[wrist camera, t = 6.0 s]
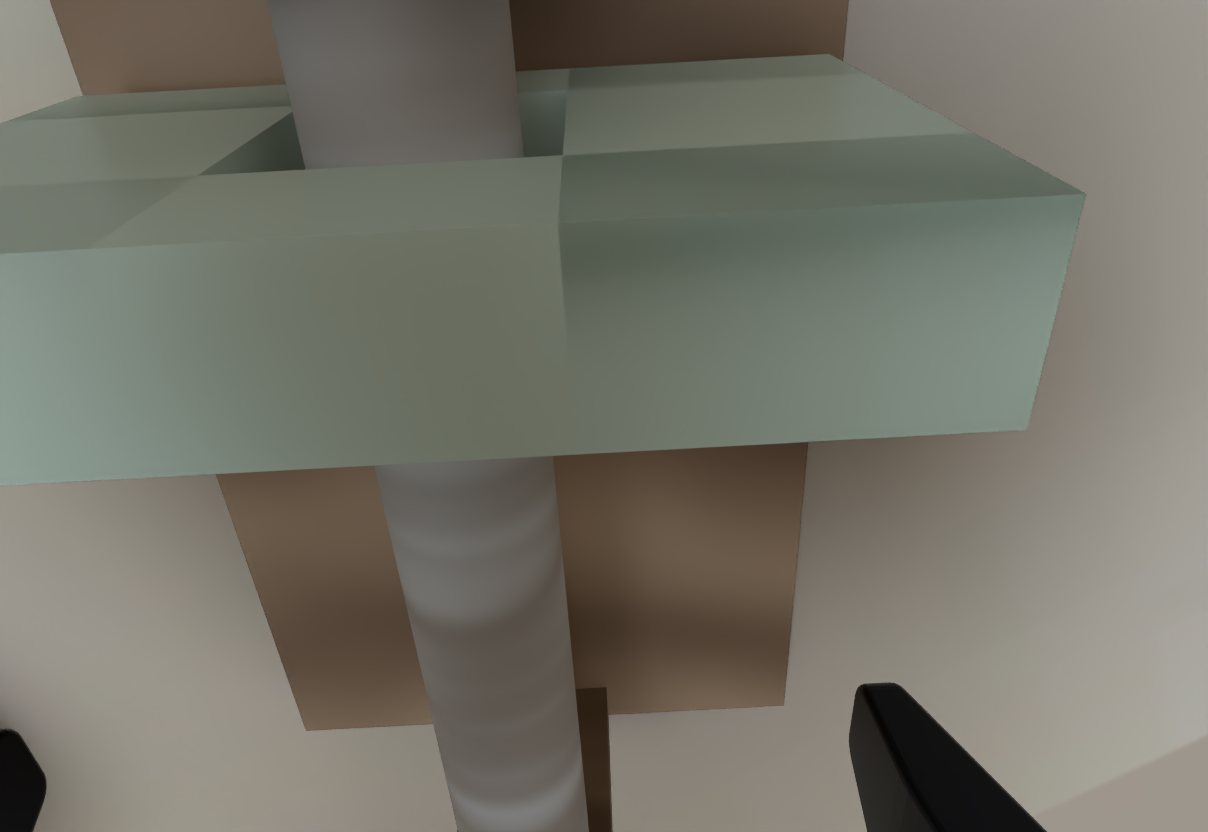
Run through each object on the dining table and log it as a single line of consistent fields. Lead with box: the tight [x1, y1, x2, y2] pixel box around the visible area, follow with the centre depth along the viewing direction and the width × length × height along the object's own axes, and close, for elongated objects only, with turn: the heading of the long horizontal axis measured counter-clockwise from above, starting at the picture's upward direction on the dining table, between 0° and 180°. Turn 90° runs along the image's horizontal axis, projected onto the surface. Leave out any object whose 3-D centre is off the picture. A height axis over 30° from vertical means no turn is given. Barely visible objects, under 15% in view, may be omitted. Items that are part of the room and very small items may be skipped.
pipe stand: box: [50, 0, 849, 832], centre depth 14 cm, size 18×12×7 cm, turn 3°
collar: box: [0, 54, 1086, 486], centre depth 10 cm, size 2×11×7 cm, turn 93°
